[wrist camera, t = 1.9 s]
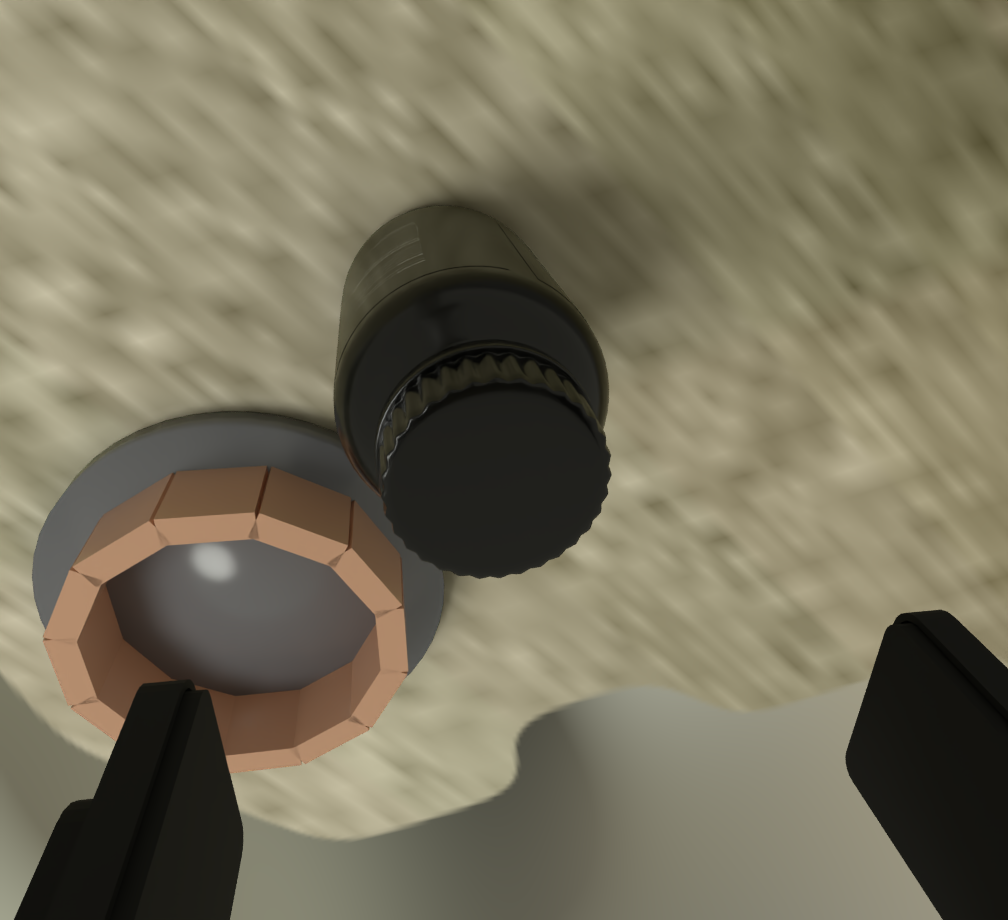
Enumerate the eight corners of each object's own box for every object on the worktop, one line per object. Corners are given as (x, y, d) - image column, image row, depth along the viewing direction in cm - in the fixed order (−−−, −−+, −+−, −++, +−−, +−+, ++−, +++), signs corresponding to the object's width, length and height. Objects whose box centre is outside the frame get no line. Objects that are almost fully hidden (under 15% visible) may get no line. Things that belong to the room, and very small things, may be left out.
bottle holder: (-12, 424, 25) (-80, 488, 21) (435, 400, 27) (444, 455, 23) (102, 732, 32) (67, 820, 28) (447, 696, 34) (455, 773, 30)
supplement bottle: (371, 414, 27) (366, 647, 16) (318, 223, 23) (268, 364, 13) (556, 376, 27) (666, 580, 17) (530, 182, 24) (649, 287, 13)
